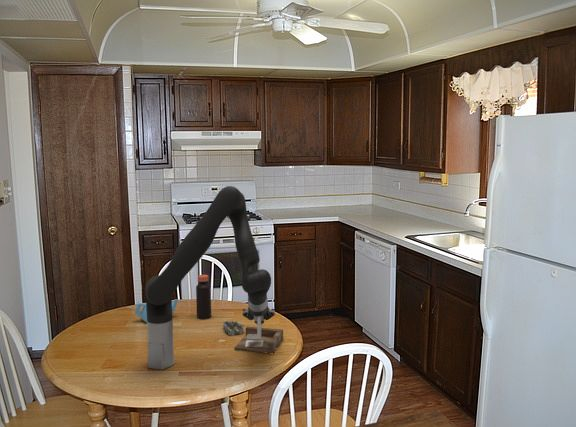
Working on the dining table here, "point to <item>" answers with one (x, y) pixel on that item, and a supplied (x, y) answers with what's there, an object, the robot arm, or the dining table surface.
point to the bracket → (258, 335)
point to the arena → (261, 340)
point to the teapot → (144, 313)
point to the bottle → (203, 297)
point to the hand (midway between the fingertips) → (259, 322)
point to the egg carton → (233, 327)
